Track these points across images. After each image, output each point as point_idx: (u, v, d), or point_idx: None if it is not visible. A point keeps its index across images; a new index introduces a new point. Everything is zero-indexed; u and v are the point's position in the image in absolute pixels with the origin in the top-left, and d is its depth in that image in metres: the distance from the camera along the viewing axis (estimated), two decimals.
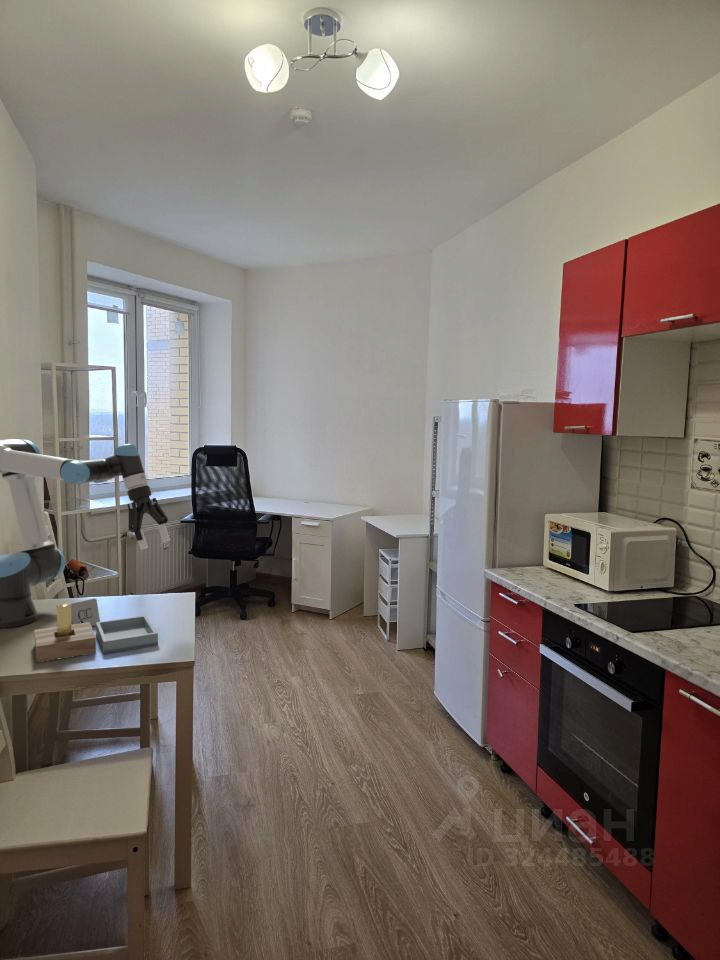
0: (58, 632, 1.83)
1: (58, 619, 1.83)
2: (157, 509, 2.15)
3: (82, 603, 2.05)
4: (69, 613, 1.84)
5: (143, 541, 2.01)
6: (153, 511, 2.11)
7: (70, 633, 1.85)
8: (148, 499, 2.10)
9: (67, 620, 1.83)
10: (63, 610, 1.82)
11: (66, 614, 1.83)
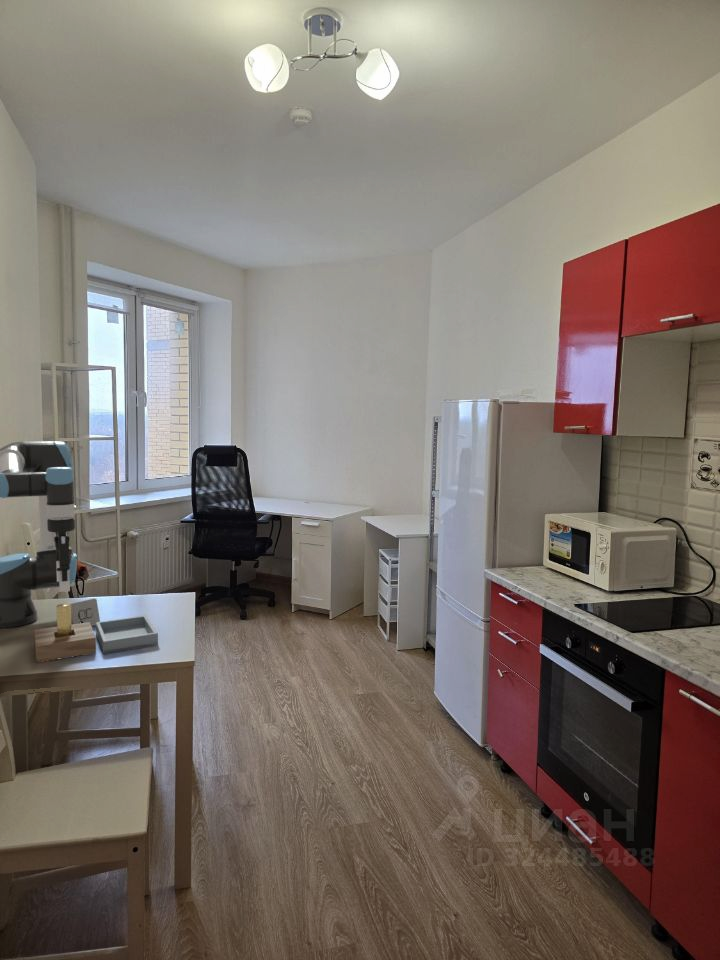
0: (58, 632, 1.83)
1: (58, 619, 1.83)
2: None
3: (82, 603, 2.05)
4: (69, 613, 1.84)
5: (67, 582, 1.77)
6: None
7: (70, 633, 1.85)
8: None
9: (67, 620, 1.83)
10: (63, 610, 1.82)
11: (66, 614, 1.83)
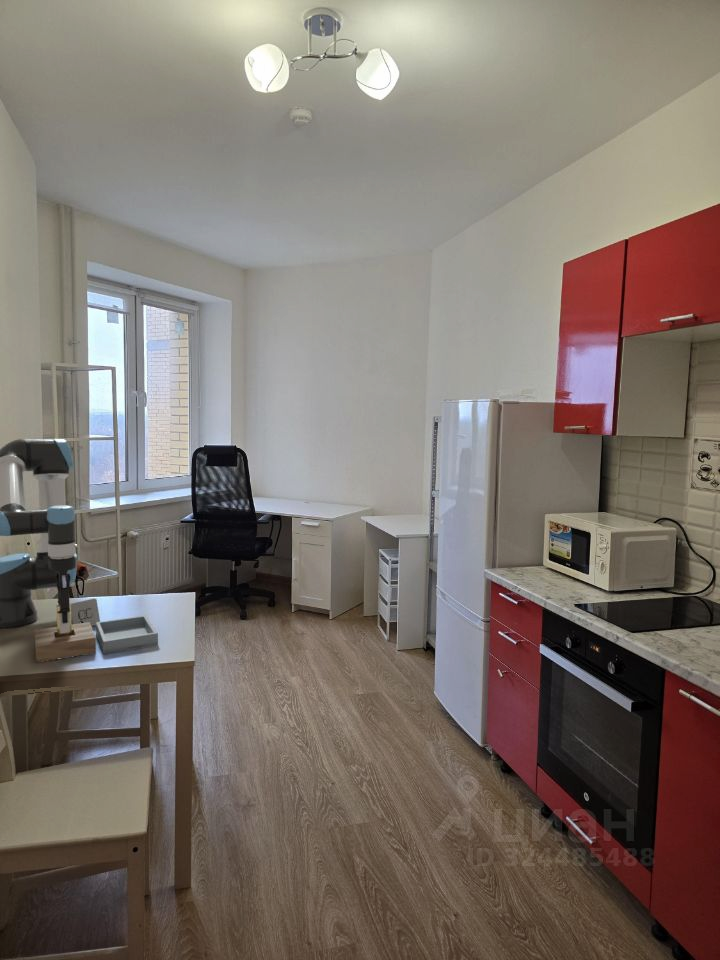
0: (58, 632, 1.83)
1: (58, 619, 1.83)
2: None
3: (82, 603, 2.05)
4: (69, 613, 1.84)
5: (67, 624, 1.83)
6: None
7: (70, 633, 1.85)
8: None
9: None
10: None
11: None
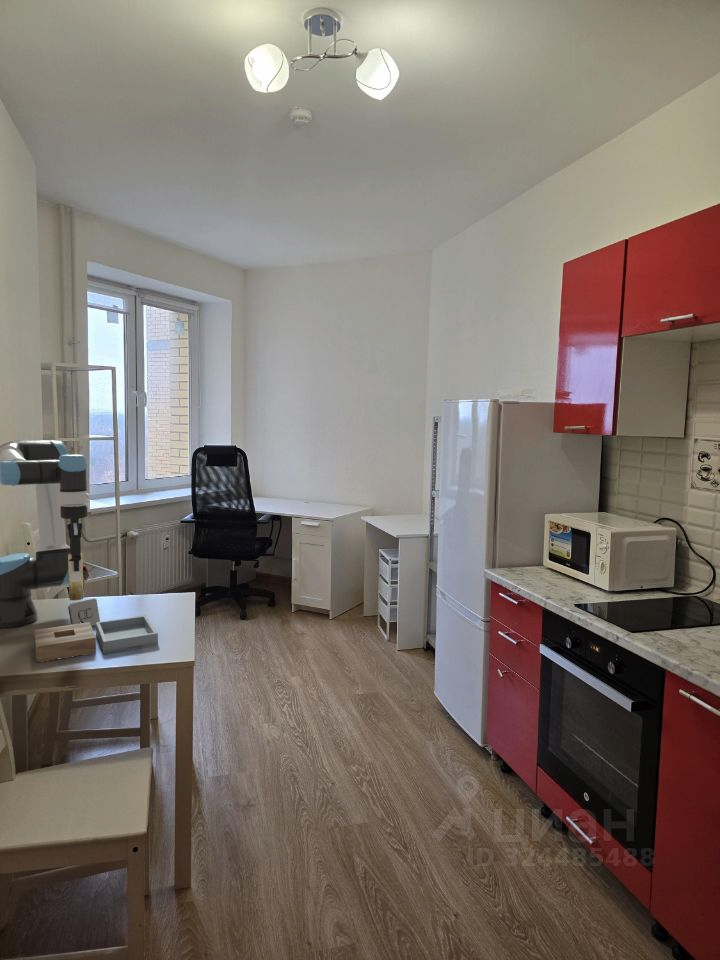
0: (70, 581, 1.83)
1: (69, 568, 1.83)
2: None
3: (82, 603, 2.05)
4: (81, 562, 1.84)
5: (79, 572, 1.83)
6: None
7: (81, 582, 1.85)
8: None
9: None
10: None
11: None
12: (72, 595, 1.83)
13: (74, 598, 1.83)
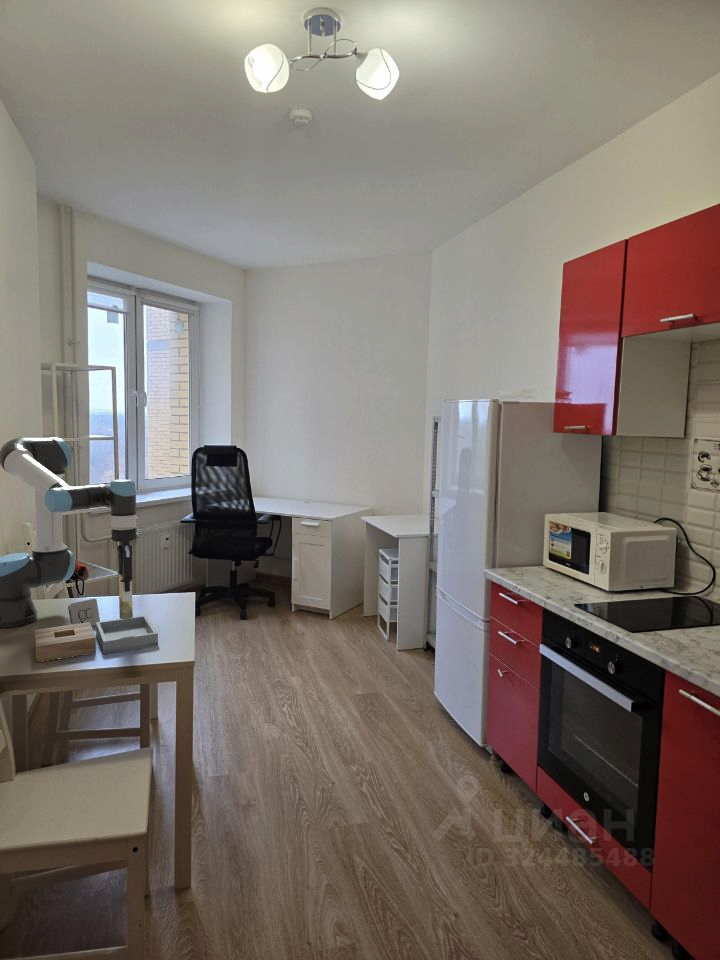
0: (120, 600, 1.91)
1: (120, 588, 1.91)
2: None
3: (82, 603, 2.05)
4: None
5: (129, 592, 1.91)
6: None
7: (131, 601, 1.93)
8: None
9: None
10: None
11: None
12: (122, 614, 1.91)
13: (124, 617, 1.91)
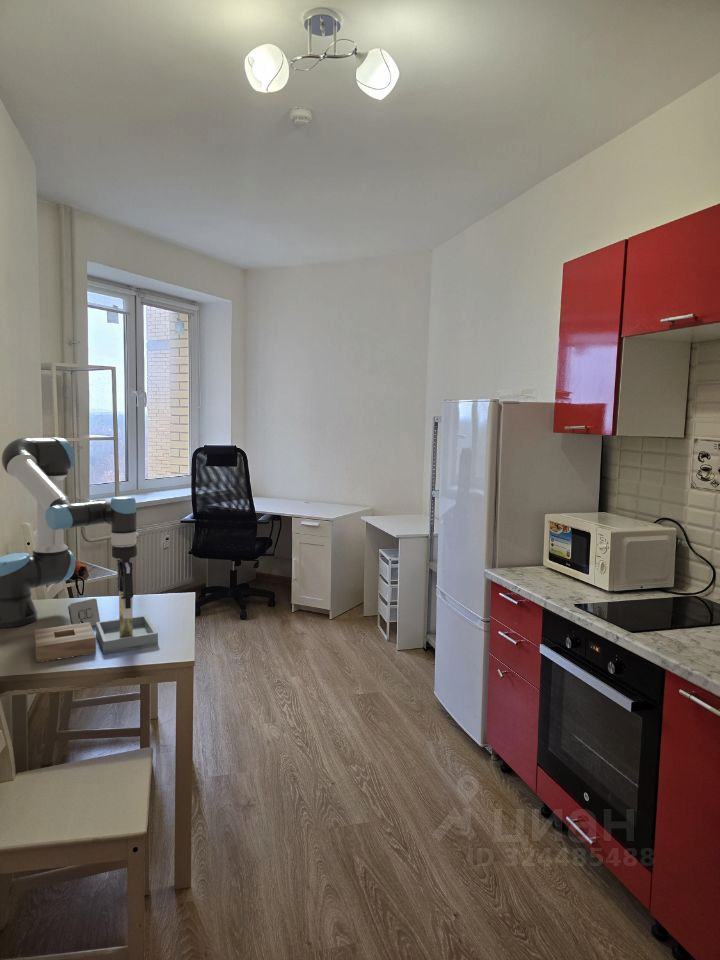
0: (120, 620, 1.92)
1: (120, 607, 1.91)
2: None
3: (82, 603, 2.05)
4: None
5: (130, 609, 1.90)
6: None
7: (131, 621, 1.93)
8: None
9: None
10: None
11: None
12: (122, 634, 1.92)
13: (124, 636, 1.92)
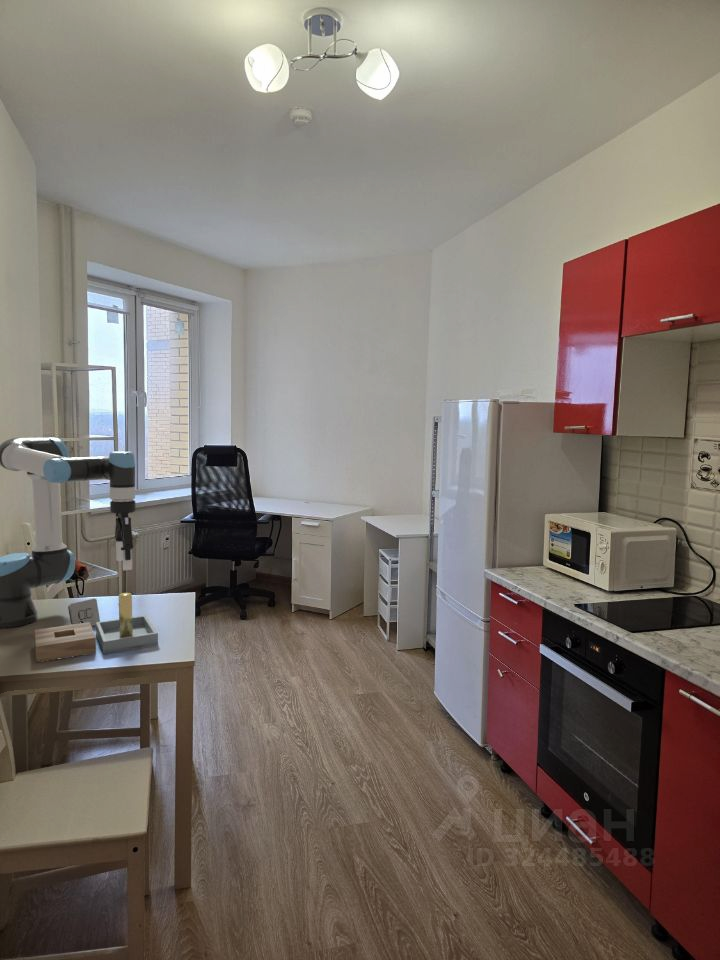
0: (120, 620, 1.92)
1: (120, 607, 1.91)
2: None
3: (82, 603, 2.05)
4: (130, 602, 1.93)
5: (130, 561, 1.86)
6: None
7: (131, 621, 1.93)
8: None
9: (128, 609, 1.92)
10: (125, 599, 1.91)
11: (128, 603, 1.92)
12: (122, 634, 1.92)
13: (124, 636, 1.92)
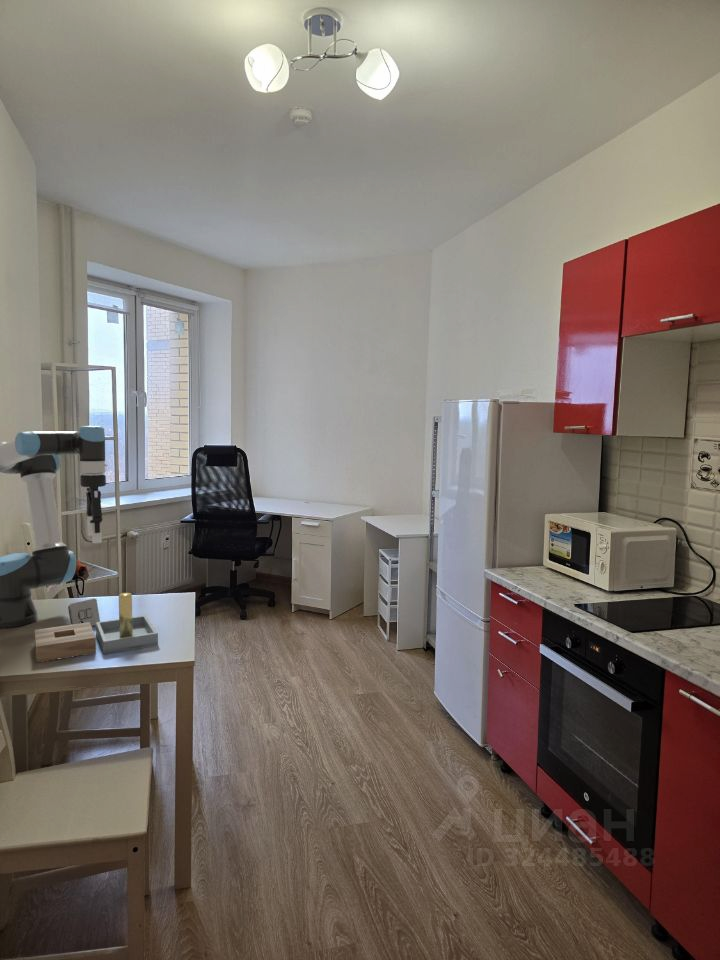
0: (120, 620, 1.92)
1: (120, 607, 1.91)
2: None
3: (82, 603, 2.05)
4: (131, 602, 1.93)
5: (99, 534, 1.87)
6: None
7: (131, 621, 1.93)
8: None
9: (129, 609, 1.92)
10: (125, 599, 1.91)
11: (128, 603, 1.92)
12: (122, 634, 1.92)
13: (124, 636, 1.92)
